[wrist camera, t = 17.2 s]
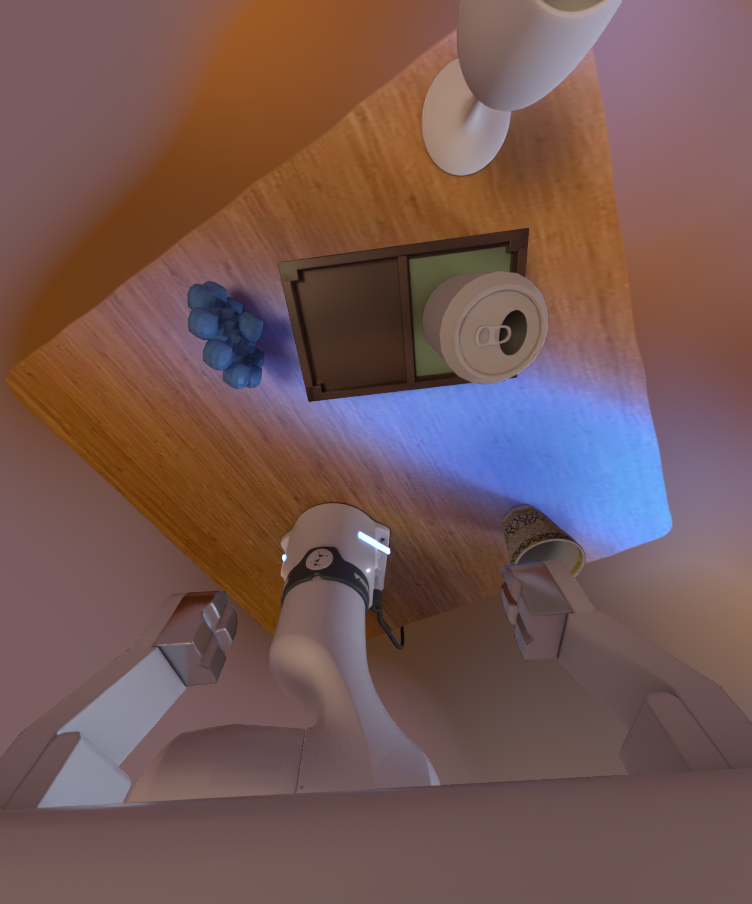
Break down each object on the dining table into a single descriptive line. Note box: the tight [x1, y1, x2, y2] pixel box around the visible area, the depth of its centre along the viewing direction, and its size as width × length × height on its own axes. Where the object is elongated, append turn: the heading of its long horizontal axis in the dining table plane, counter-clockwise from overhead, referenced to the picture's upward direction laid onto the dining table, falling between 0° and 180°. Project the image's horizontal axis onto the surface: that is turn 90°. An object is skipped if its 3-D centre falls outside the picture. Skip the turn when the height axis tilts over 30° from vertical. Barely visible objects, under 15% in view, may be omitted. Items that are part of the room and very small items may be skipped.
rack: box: [278, 228, 529, 402], centre depth 36 cm, size 13×22×10 cm, turn 97°
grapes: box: [188, 281, 264, 389], centre depth 36 cm, size 12×7×12 cm, turn 22°
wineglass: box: [422, 0, 622, 176], centre depth 23 cm, size 9×9×21 cm
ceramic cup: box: [502, 505, 585, 578], centre depth 52 cm, size 13×10×10 cm
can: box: [422, 271, 548, 384], centre depth 27 cm, size 8×8×12 cm
